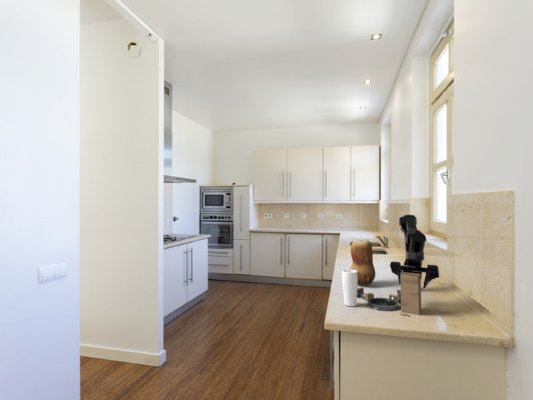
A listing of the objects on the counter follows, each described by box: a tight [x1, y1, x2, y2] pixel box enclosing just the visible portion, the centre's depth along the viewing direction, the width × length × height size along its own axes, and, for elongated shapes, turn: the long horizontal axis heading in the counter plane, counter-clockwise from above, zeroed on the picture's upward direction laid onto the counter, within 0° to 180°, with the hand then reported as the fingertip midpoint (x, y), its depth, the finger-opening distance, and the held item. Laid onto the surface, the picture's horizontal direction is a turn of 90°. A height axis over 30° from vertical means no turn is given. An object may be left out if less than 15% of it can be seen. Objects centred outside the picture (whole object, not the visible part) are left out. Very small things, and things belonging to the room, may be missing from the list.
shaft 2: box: [388, 289, 401, 304], centre depth 137 cm, size 8×4×4 cm, turn 124°
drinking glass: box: [341, 269, 359, 307], centre depth 133 cm, size 7×7×15 cm
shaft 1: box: [357, 287, 375, 303], centre depth 141 cm, size 8×4×4 cm, turn 24°
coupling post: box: [400, 272, 422, 316], centre depth 124 cm, size 6×6×15 cm
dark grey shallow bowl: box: [366, 297, 401, 312], centre depth 131 cm, size 13×13×2 cm
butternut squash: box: [350, 239, 376, 286], centre depth 166 cm, size 14×13×25 cm
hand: (411, 286), depth 125 cm, fingers open, 9 cm apart
